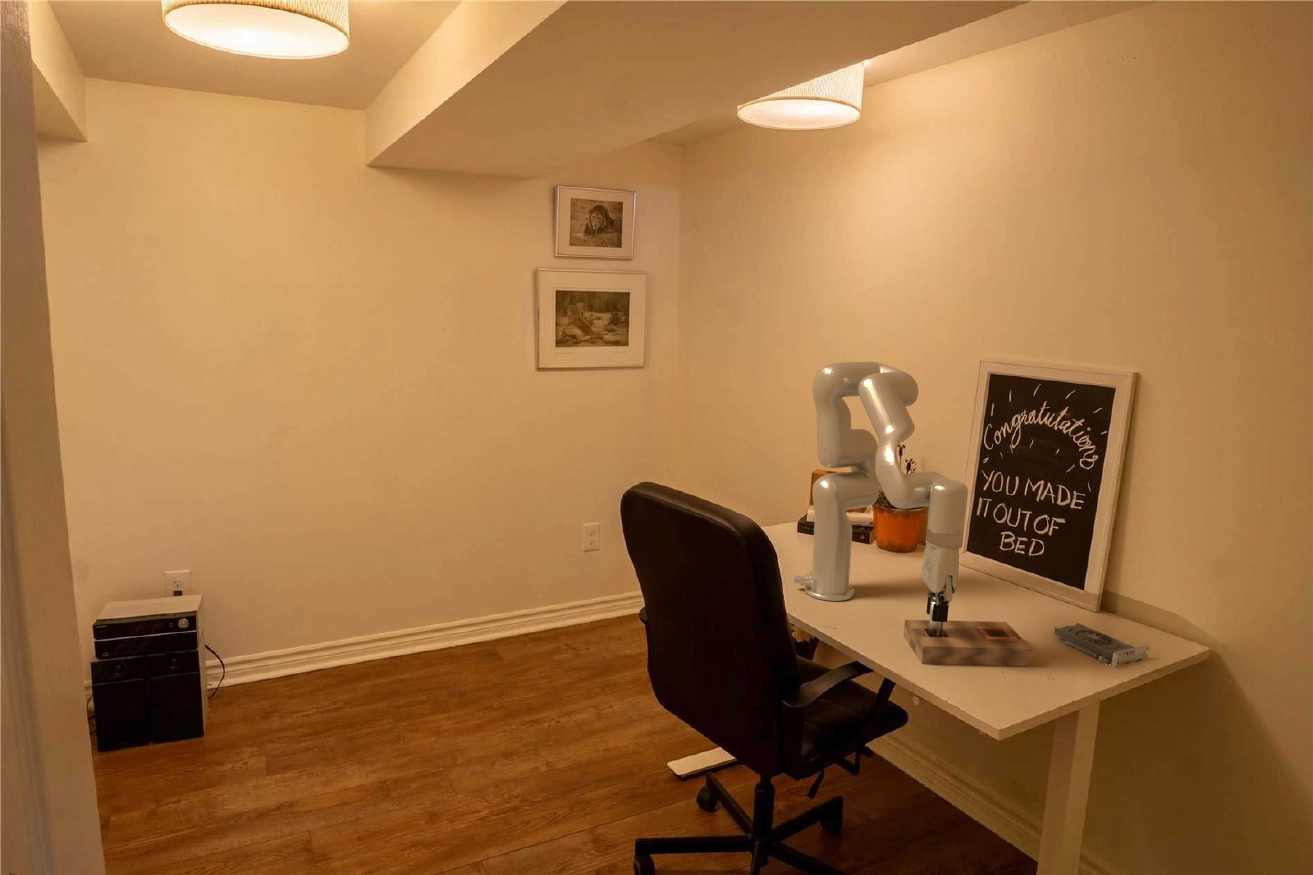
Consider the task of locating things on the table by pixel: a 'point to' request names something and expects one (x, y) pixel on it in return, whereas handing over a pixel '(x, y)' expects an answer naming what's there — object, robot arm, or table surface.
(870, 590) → the table surface
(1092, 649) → the graphics card
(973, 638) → the pin board
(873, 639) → the table surface
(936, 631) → the lock pin
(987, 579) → the table surface
